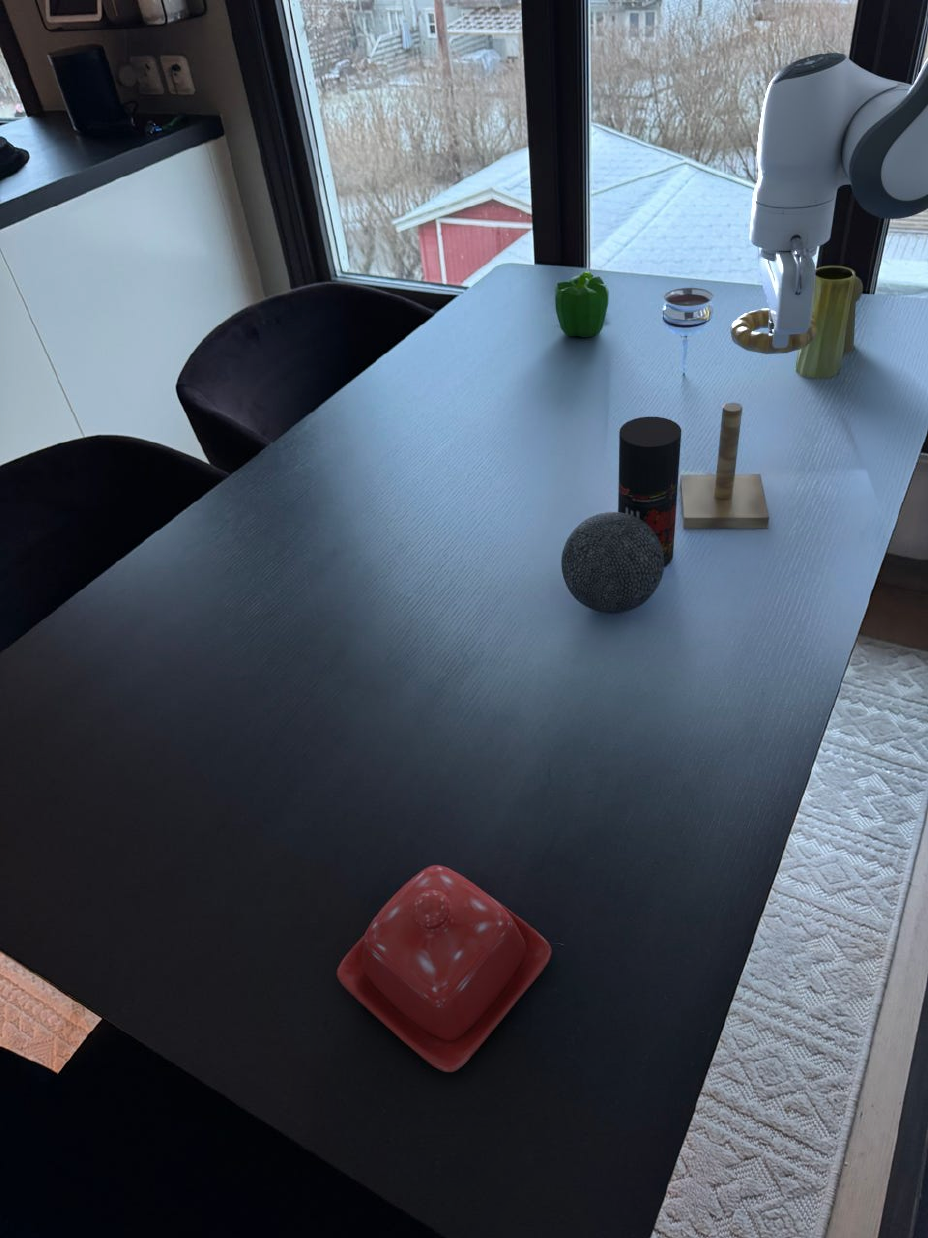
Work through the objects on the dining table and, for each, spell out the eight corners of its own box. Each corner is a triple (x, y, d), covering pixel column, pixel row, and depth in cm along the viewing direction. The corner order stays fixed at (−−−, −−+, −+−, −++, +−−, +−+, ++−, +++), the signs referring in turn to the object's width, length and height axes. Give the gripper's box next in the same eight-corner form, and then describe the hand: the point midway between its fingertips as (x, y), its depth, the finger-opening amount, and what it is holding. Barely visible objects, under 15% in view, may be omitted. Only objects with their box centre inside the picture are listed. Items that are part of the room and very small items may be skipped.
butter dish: (451, 1092, 56) (434, 1030, 50) (331, 981, 62) (305, 916, 57) (561, 958, 62) (557, 889, 56) (441, 869, 68) (427, 801, 63)
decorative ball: (651, 641, 85) (655, 558, 79) (551, 625, 88) (547, 544, 82) (670, 579, 92) (675, 498, 86) (576, 566, 95) (574, 487, 89)
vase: (807, 363, 126) (823, 261, 116) (848, 373, 122) (868, 269, 113) (784, 379, 123) (799, 275, 113) (825, 390, 119) (844, 284, 110)
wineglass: (717, 380, 124) (725, 295, 117) (682, 396, 122) (688, 310, 114) (683, 365, 129) (688, 283, 121) (648, 380, 126) (651, 297, 119)
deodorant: (611, 567, 95) (612, 443, 85) (624, 535, 99) (627, 414, 89) (667, 575, 93) (674, 449, 83) (678, 542, 97) (686, 419, 87)
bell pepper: (551, 325, 144) (549, 263, 138) (601, 318, 145) (601, 256, 138) (561, 346, 138) (559, 282, 132) (613, 339, 138) (614, 274, 132)
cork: (806, 361, 126) (818, 284, 119) (810, 344, 130) (822, 268, 123) (851, 364, 124) (866, 286, 117) (854, 346, 128) (869, 269, 121)
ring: (808, 321, 117) (811, 303, 115) (820, 354, 109) (823, 335, 107) (727, 325, 119) (728, 307, 117) (733, 358, 111) (734, 340, 109)
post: (758, 484, 104) (772, 385, 96) (767, 528, 97) (782, 426, 89) (680, 485, 105) (686, 388, 97) (683, 529, 98) (690, 428, 90)
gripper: (836, 252, 92) (817, 375, 101) (807, 194, 108) (793, 306, 117) (772, 256, 94) (760, 378, 103) (753, 198, 109) (743, 309, 118)
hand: (777, 339), depth 110 cm, fingers closed on ring, 2 cm apart
